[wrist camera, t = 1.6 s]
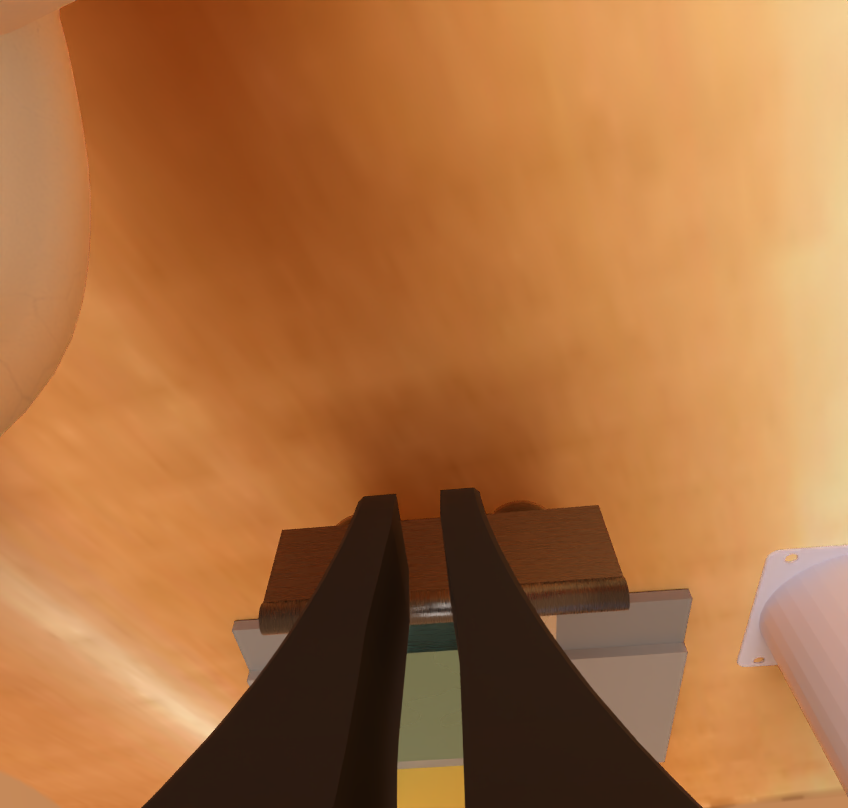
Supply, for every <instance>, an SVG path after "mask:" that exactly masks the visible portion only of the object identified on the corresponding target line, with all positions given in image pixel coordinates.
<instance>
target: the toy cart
mask: <svg viewBox="0 0 848 808" xmlns="http://www.w3.org/2000/svg"><path fill="white" fill-rule="evenodd" d="M486 516H487V518H488V521H489V523H490V526H491V528H492V530H493V533H494V535H495V537H496V539H497V542H498V544H499V546H500V548H501V550H502V552H503V554H504V556H505V558H506V559H507V561H508V563H509V565H510V567H511V569H512V571H513V572H514V574H515V576H516V578H517V580H518V582H519V583H520V585H521V587H522V588H523V590H524V592H525V593H526V595H527V597H528V598H529V600H530V601H531V603H532V605H533V606H534V608H535V609H536V611H537V613H538V614H539V616H540V617H541V619H542V620H543V622H544V623H545V625H546V626H547V628H548V629H549V631H550V632H551V634H552V635H553V637H554V638H555V639H556V621H557V615H567V614H581V613H596V612H610V611H624V610H629V608H630V597H629V591H628V586H627V583H626V580H625V578H624V577H623V575H622V572H621V569H620V566H619V563H618V560H617V557H616V554H615V552H614V549H613V546H612V543H611V540H610V537H609V534H608V531H607V528H606V526H605V523H604V520H603V517H602V514H601V511H600V508H599V505H595V506H582V507H570V508H557V509H545V508H544V507H542V506H540V505H538V504H536V503H533V502H529V501H514V502H510V503H507V504H505V505H502V506H501V507H499V508H498V509H496V510H495V511H494V512H493V513H492V514H486ZM352 517H353V515H352V516H349V517H347V518H345V519H344V520H342V521H341V522H340V523H338V524H337V525H336V526H328V527H316V528H303V529H290V530H282V533H281V537H280V541H279V544H278V548H277V552H276V556H275V560H274V563H273V567H272V571H271V575H270V579H269V582H268V586H267V590H266V594H265V598H264V601H263V603H262V604H261V607H260V611H259V629H260V632H261V634H262V635H277V634H288V633H289V631H290V630H291V628H292V627H293V625H294V624H295V622H296V620H297V619H298V617H299V616H300V614H301V612H302V611H303V609H304V608H305V606H306V604H307V603H308V601H309V599H310V598H311V596H312V595H313V593H314V591H315V590H316V588H317V586H318V584H319V582H320V581H321V579H322V577H323V575H324V573H325V571H326V570H327V568H328V566H329V564H330V562H331V560H332V559H333V557H334V555H335V553H336V551H337V549H338V547H339V545H340V543H341V541H342V539H343V537H344V535H345V532H346V530H347V528H348V526H349V524H350V522H351V519H352ZM401 526H402V532H403V538H404V544H405V549H406V555H407V561H408V567H409V597H410V624H409V635H408V646H407V657H406V668H405V679H404V689H403V700H402V711H401V721H400V732H399V745H398V762H404V761H422V760H439V759H457V758H463V735H462V710H461V685H460V662H459V655H458V649H457V642H456V636H455V629H454V623H453V616H452V607H451V599H450V591H449V583H448V575H447V567H446V559H445V551H444V543H443V535H442V527H441V518H430V519H417V520H404V521H401Z"/></svg>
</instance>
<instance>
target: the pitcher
mask: <svg viewBox="0 0 848 808" xmlns="http://www.w3.org/2000/svg"><path fill="white" fill-rule="evenodd" d="M74 1H76V0H0V436H1V435H2V434H3V433H4V432H6V431H7V430H8V429H9V428H10V427H11V426H12V425H13V424H14V423H15V422H16V421H17V420H18V419H19V418H20V417H21V416H22V415H23V414H24V413H25V412H26V411H27V409H28V408H29V407H30V405H31V404H32V403H33V401H34V400H35V399H36V397H37V396H38V395H39V393H40V392H41V391H42V390H43V388H44V387H45V386H46V384H47V383H48V382H49V380H50V379H51V378H52V376H53V375H54V373H55V371H56V369H57V367H58V365H59V363H60V361H61V359H62V357H63V355H64V353H65V351H66V349H67V347H68V345H69V343H70V341H71V339H72V337H73V333H74V330H75V326H76V323H77V320H78V316H79V313H80V310H81V306H82V303H83V297H84V291H85V284H86V278H87V271H88V264H89V249H90V233H91V193H90V179H89V166H88V157H87V150H86V143H85V136H84V129H83V123H82V118H81V112H80V107H79V102H78V96H77V91H76V86H75V81H74V76H73V71H72V66H71V61H70V56H69V51H68V47H67V43H66V39H65V35H64V31H63V28H62V24H61V20H60V8H62V7H64V6H66V5H68V4H70V3H72V2H74Z"/></svg>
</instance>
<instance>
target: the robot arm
mask: <svg viewBox="0 0 848 808" xmlns="http://www.w3.org/2000/svg"><path fill="white" fill-rule="evenodd" d="M440 517H441V527H442V535H443V543H444V551H445V559H446V567H447V575H448V583H449V591H450V599H451V607H452V616H453V623H454V629H455V636H456V642H457V649H458V655H459V662H460V685H461V710H462V735H463V764H464V792H465V808H703V807H702V806H701V805H699V804H698V803H697V802H696V801H695V800H694V799H693V798H692V797H691V796H690V795H689V794H688V793H687V792H686V791H685V790H684V789H683V788H682V787H681V786H680V785H679V784H678V783H677V782H676V781H675V780H674V779H673V778H672V777H671V776H670V775H669V774H668V772H667V771H666V770H665V769H664V768H663V767H662V766H661V765H660V764H659V763H658V762H657V761H656V760H655V759H654V758H653V757H652V756H651V754H650V753H649V752H648V751H647V750H646V749H645V748H644V747H643V746H642V745H641V744H640V743H639V742H638V741H637V740H636V738H635V737H634V736H633V735H632V734H631V733H630V731H629V730H628V729H627V728H626V727H625V726H624V725H623V723H622V722H621V721H620V720H619V719H618V718H617V716H616V715H615V714H614V713H613V712H612V711H611V709H610V708H609V707H608V706H607V705H606V704H605V703H604V701H603V700H602V699H601V698H600V697H599V696H598V694H597V693H596V692H595V691H594V690H593V688H592V687H591V686H590V685H589V683H588V682H587V681H586V679H585V678H584V677H583V676H582V674H581V673H580V672H579V670H578V669H577V668H576V667H575V665H574V664H573V663H572V661H571V660H570V659H569V657H568V656H567V655H566V653H565V652H564V651H563V649H562V648H561V646H560V645H559V644H558V642H557V641H556V639H555V638H554V637H553V635H552V634H551V632H550V631H549V629H548V628H547V626H546V625H545V623H544V622H543V620H542V619H541V617H540V616H539V614H538V613H537V611H536V609H535V608H534V606H533V605H532V603H531V601H530V600H529V598H528V597H527V595H526V593H525V592H524V590H523V588H522V587H521V585H520V583H519V582H518V580H517V578H516V576H515V574H514V572H513V571H512V569H511V567H510V565H509V563H508V561H507V559H506V558H505V556H504V554H503V552H502V550H501V548H500V546H499V544H498V542H497V539H496V537H495V535H494V533H493V530H492V528H491V526H490V523H489V521H488V518H487V516H486V513H485V510H484V507H483V504H482V500H481V496H480V492H479V491H477V490H476V489H475V488H463V489H451V490H441V492H440ZM791 554H796V555H797V558H796V559H795V560H793V561H785V558H786V557H787V556H788V555H791ZM409 624H410V597H409V567H408V561H407V555H406V549H405V544H404V538H403V532H402V526H401V520H400V515H399V509H398V503H397V497H396V494H389V495H377V496H365V497H363V498H362V499H361V500H360V501H359V502H358V505H357V507H356V510H355V512H354V515H353V517H352V519H351V522H350V524H349V526H348V528H347V530H346V532H345V535H344V537H343V539H342V541H341V543H340V545H339V547H338V549H337V551H336V553H335V555H334V557H333V559H332V560H331V562H330V564H329V566H328V568H327V570H326V571H325V573H324V575H323V577H322V579H321V581H320V582H319V584H318V586H317V588H316V590H315V591H314V593H313V595H312V596H311V598H310V599H309V601H308V603H307V604H306V606H305V608H304V609H303V611H302V612H301V614H300V616H299V617H298V619H297V620H296V622H295V624H294V625H293V627H292V628H291V630H290V631H289V633H288V635H287V636H286V637H285V639H284V640H283V642H282V643H281V645H280V646H279V648H278V649H277V651H276V652H275V653H274V655H273V656H272V658H271V659H270V660H269V662H268V663H267V665H266V666H265V667H264V669H263V670H262V671H261V673H260V674H259V675H258V677H257V678H256V679H255V681H254V682H253V683H252V685H251V686H250V687H249V688H248V690H247V691H246V692H245V693H244V695H243V696H242V697H241V698H240V700H239V701H238V702H237V703H236V704H235V706H234V707H233V708H232V709H231V711H230V712H229V713H228V714H227V716H226V717H225V718H224V719H223V720H222V722H221V723H220V724H219V725H218V726H217V727H216V729H215V730H214V731H213V732H212V733H211V734H210V736H209V737H208V738H207V739H206V740H205V741H204V742H203V743H202V744H201V745H200V747H199V748H198V749H197V750H196V751H195V752H194V753H193V754H192V755H191V756H190V757H189V758H188V759H187V761H186V762H185V763H184V764H183V765H182V766H181V767H180V768H179V769H178V770H177V771H176V772H175V773H174V775H173V776H172V777H171V778H170V779H169V780H168V781H167V782H166V783H165V784H164V785H163V786H162V787H161V789H160V790H159V791H158V792H157V793H156V794H155V795H154V796H153V797H152V798H151V799H150V800H149V801H148V802H147V803H146V804H145V805H144V806H143V807H141V808H397V763H398V745H399V732H400V721H401V711H402V700H403V689H404V679H405V668H406V657H407V646H408V635H409ZM759 657H763V658H764V660H763V661H761V662H753V661H754V659H756V658H759ZM737 664H738V665H740V666H742V667H754V666H769V665H778V666H779V668H780V670H781V672H782V674H783V676H784V678H785V680H786V681H787V683H788V685H789V687H790V689H791V691H792V693H793V695H794V696H795V698H796V700H797V702H798V704H799V706H800V708H801V710H802V712H803V713H804V715H805V717H806V719H807V721H808V723H809V725H810V727H811V728H812V730H813V732H814V734H815V736H816V738H817V740H818V742H819V743H820V745H821V747H822V749H823V751H824V753H825V755H826V757H827V759H828V760H829V762H830V764H831V766H832V768H833V770H834V772H835V774H836V775H837V777H838V779H839V781H840V783H841V785H842V787H843V789H844V791H845V792H846V794H847V796H848V545H835V546H822V547H808V548H795V549H781V550H776V551H774V552H772V553H770V554H769V555H768V556H767V558H766V560H765V564H764V567H763V571H762V574H761V578H760V581H759V585H758V588H757V592H756V595H755V599H754V602H753V606H752V609H751V613H750V616H749V620H748V624H747V627H746V631H745V634H744V638H743V641H742V645H741V648H740V652H739V655H738V659H737Z"/></svg>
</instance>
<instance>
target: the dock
mask: <svg viewBox="0 0 848 808" xmlns="http://www.w3.org/2000/svg"><path fill="white" fill-rule="evenodd" d="M629 597H630V608H629V610H624V611H610V612H596V613H581V614H567V615H557V621H556V641H557V642H558V644H559V645H560V646H561V648H562V649H563V651H564V652H565V653H566V655H567V656H568V657H569V659H570V660H571V661H572V663H573V664H574V665H575V667H576V668H577V669H578V670H579V672H580V673H581V674H582V676H583V677H584V678H585V679H586V681H587V682H588V683H589V685H590V686H591V687H592V688H593V690H594V691H595V692H596V693H597V694H598V696H599V697H600V698H601V699H602V700H603V701H604V703H605V704H606V705H607V706H608V707H609V708H610V709H611V711H612V712H613V713H614V714H615V715H616V716H617V718H618V719H619V720H620V721H621V722H622V723H623V725H624V726H625V727H626V728H627V729H628V730H629V731H630V733H631V734H632V735H633V736H634V737H635V738H636V740H637V741H638V742H639V743H640V744H641V745H642V746H643V747H644V748H645V749H646V750H647V751H648V752H649V753H650V754H651V756H652V757H653V758H654V759H655V760H656V761H657V762H665V757H666V753H667V748H668V743H669V738H670V734H671V729H672V724H673V719H674V714H675V710H676V705H677V700H678V695H679V691H680V686H681V681H682V676H683V672H684V667H685V662H686V657H687V653H688V652H687V649H686V647H685V644H684V638H685V633H686V628H687V623H688V618H689V613H690V608H691V603H692V596H691V594H690V592H689V590H688V589H682V590H668V591H654V592H640V593H629ZM232 632H233V634H234V636H235V639H236V641H237V643H238V646H239V648H240V650H241V653H242V655H243V657H244V659H245V662H246V664H247V666H248V669H249V675H248V679H247V682H248V684H249V686H251V685H252V683H253V682H254V681H255V679H256V678H257V677H258V675H259V674H260V673H261V671H262V670H263V669H264V667H265V666H266V665H267V663H268V662H269V660H270V659H271V658H272V656H273V655H274V653H275V652H276V651H277V649H278V648H279V646H280V645H281V643H282V642H283V640H284V639H285V637H286V636H287V635H288V634H277V635H262V634H261V632H260V629H259V619H257V620H243V621H235V622H234V625H233V629H232ZM397 808H465V792H464V764H463V758H457V759H439V760H422V761H404V762H398V763H397Z"/></svg>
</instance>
